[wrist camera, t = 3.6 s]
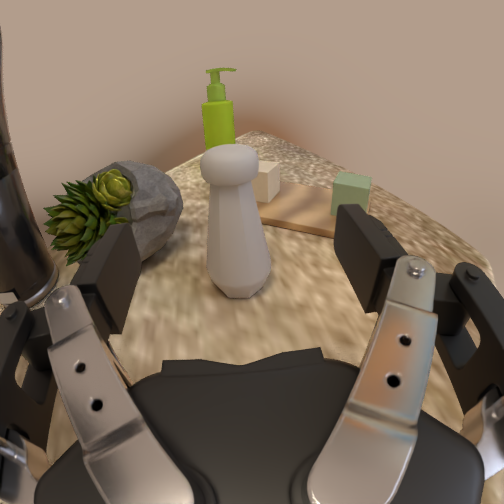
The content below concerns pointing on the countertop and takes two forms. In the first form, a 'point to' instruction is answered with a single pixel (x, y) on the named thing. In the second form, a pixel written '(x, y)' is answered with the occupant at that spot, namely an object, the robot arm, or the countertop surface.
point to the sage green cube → (350, 190)
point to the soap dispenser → (218, 113)
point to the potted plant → (116, 209)
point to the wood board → (301, 209)
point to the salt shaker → (234, 221)
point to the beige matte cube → (266, 181)
